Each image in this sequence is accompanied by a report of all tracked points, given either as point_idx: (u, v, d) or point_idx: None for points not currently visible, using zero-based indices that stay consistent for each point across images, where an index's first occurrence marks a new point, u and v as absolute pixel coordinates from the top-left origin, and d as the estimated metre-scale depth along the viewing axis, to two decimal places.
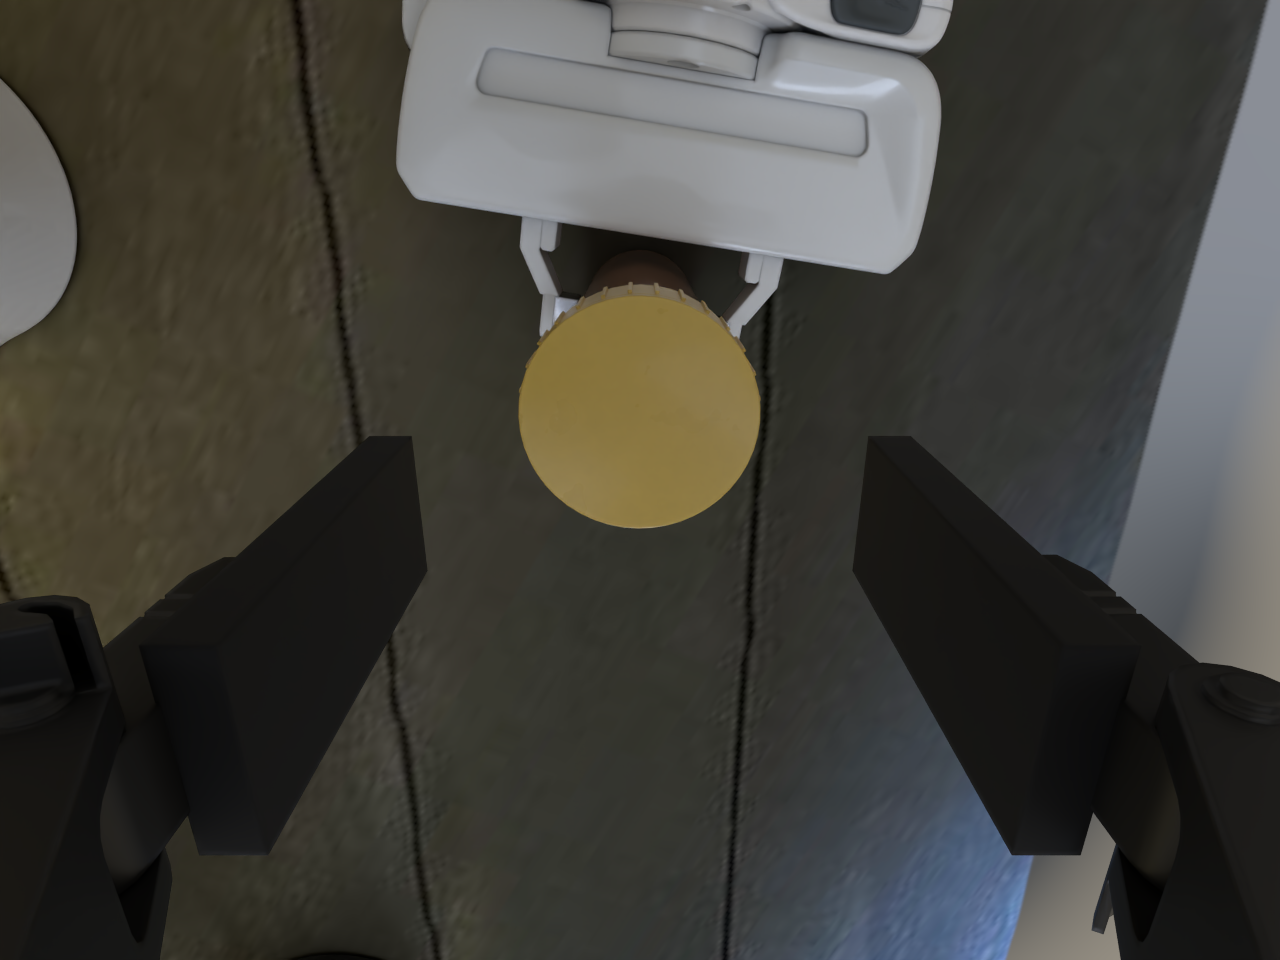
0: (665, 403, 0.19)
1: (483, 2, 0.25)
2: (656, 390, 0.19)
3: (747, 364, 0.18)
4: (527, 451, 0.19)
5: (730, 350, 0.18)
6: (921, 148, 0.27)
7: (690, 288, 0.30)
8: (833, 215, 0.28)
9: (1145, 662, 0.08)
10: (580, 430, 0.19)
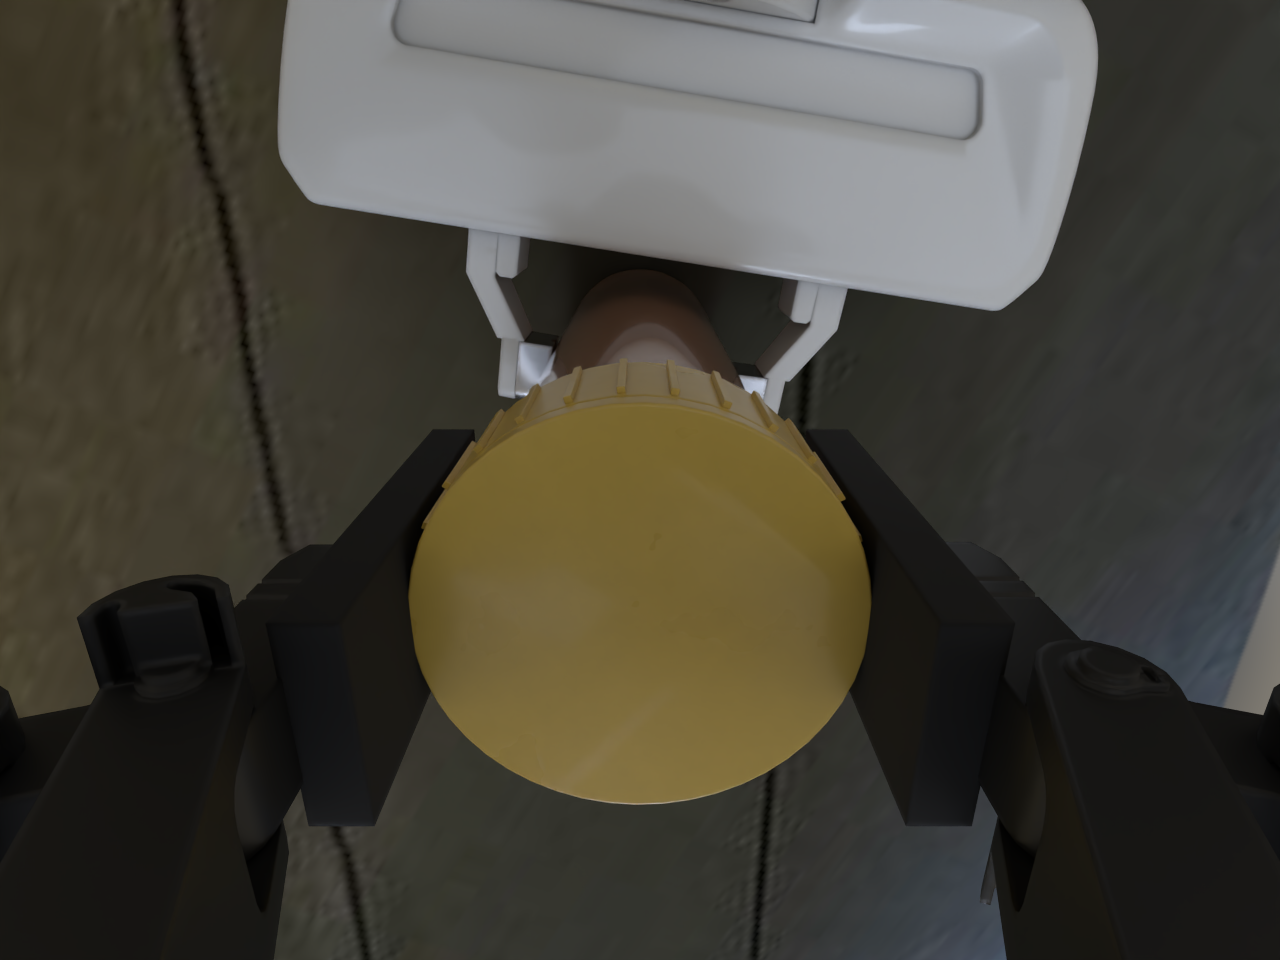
0: (690, 600, 0.10)
1: None
2: (673, 577, 0.10)
3: (852, 531, 0.09)
4: (428, 681, 0.10)
5: (820, 505, 0.09)
6: (1064, 126, 0.18)
7: (712, 330, 0.21)
8: (925, 227, 0.19)
9: (1031, 641, 0.08)
10: (527, 645, 0.10)
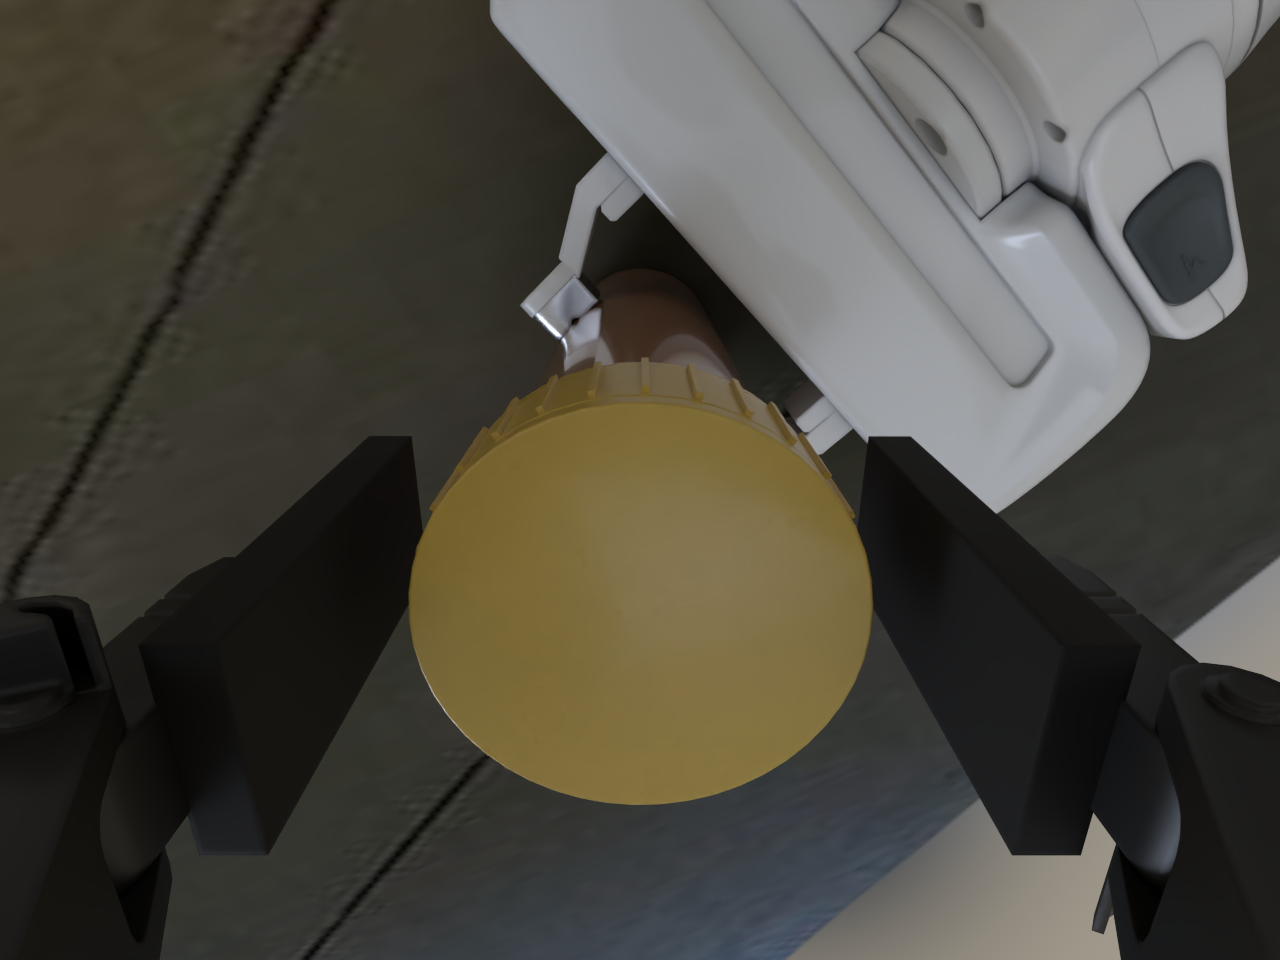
0: (655, 577, 0.10)
1: None
2: (623, 572, 0.10)
3: (719, 419, 0.09)
4: (540, 783, 0.11)
5: (672, 423, 0.09)
6: (1078, 429, 0.21)
7: None
8: (940, 427, 0.21)
9: (1146, 662, 0.08)
10: (577, 704, 0.10)
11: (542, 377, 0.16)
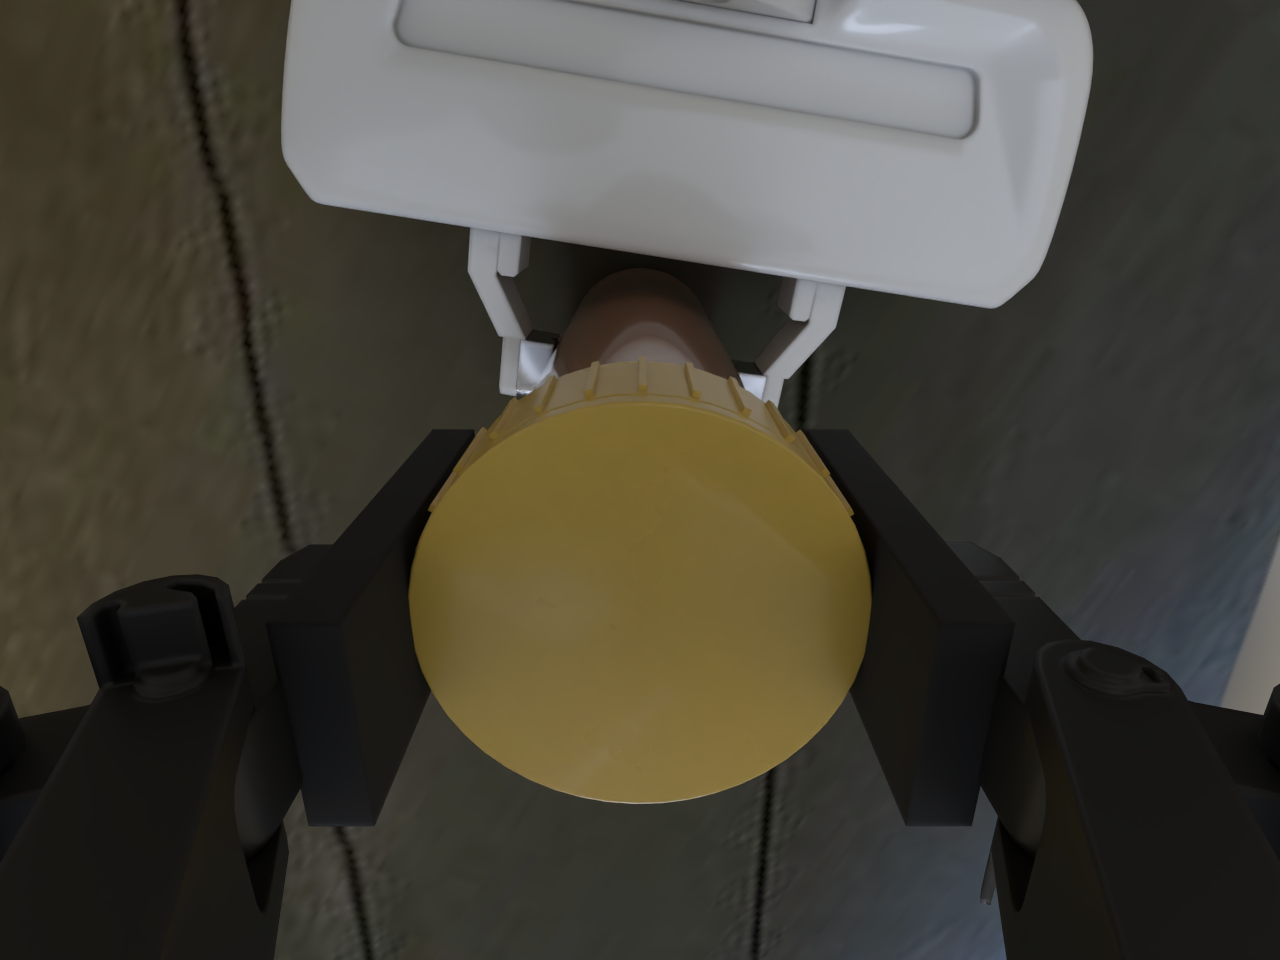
0: (615, 579, 0.10)
1: None
2: (587, 591, 0.10)
3: (553, 421, 0.09)
4: (671, 800, 0.11)
5: (522, 450, 0.09)
6: (1060, 125, 0.18)
7: (712, 328, 0.21)
8: (923, 225, 0.19)
9: (1031, 640, 0.08)
10: (645, 720, 0.10)
11: None
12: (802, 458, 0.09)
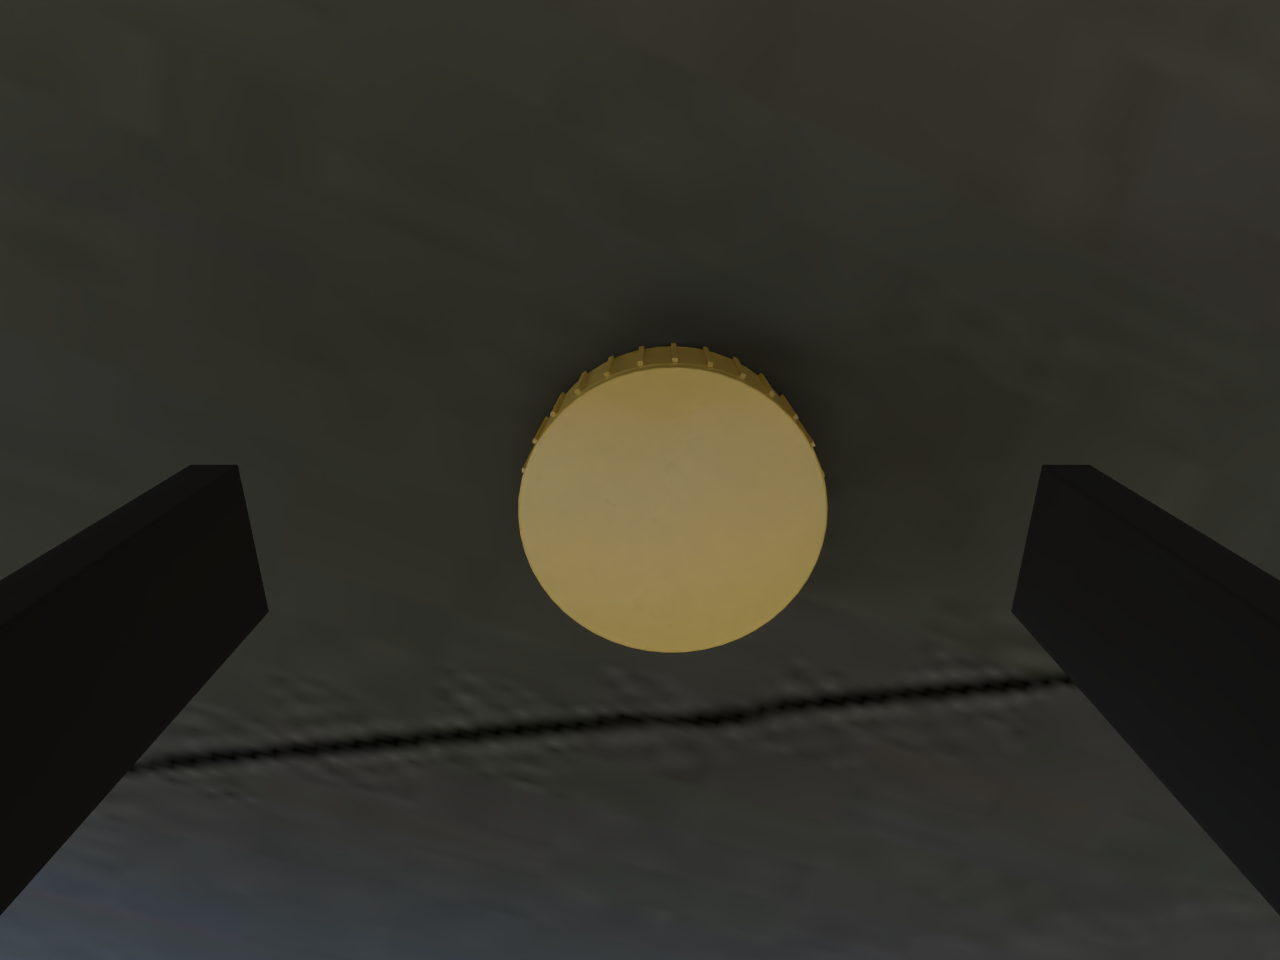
0: (656, 487, 0.14)
1: None
2: (637, 495, 0.15)
3: (619, 379, 0.14)
4: (692, 649, 0.16)
5: (598, 399, 0.14)
6: None
7: None
8: None
9: None
10: (674, 589, 0.15)
11: None
12: (779, 405, 0.14)
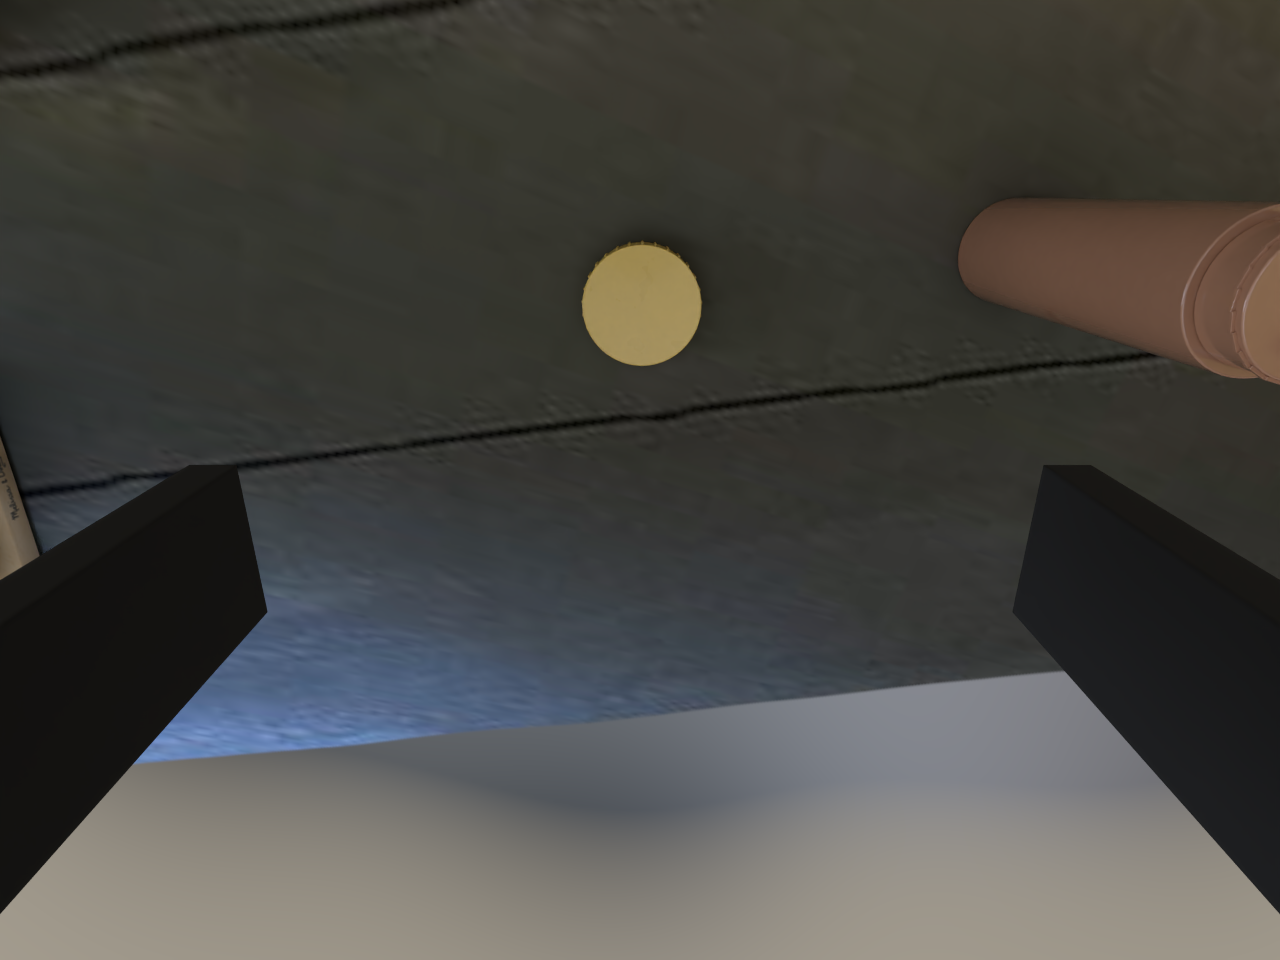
0: (635, 293, 0.38)
1: None
2: (628, 296, 0.38)
3: (621, 249, 0.37)
4: (650, 364, 0.39)
5: (613, 257, 0.37)
6: None
7: None
8: None
9: None
10: (643, 336, 0.39)
11: (1189, 200, 0.26)
12: (680, 259, 0.37)
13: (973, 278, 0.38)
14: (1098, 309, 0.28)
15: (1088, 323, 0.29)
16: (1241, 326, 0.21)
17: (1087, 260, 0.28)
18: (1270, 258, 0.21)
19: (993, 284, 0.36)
